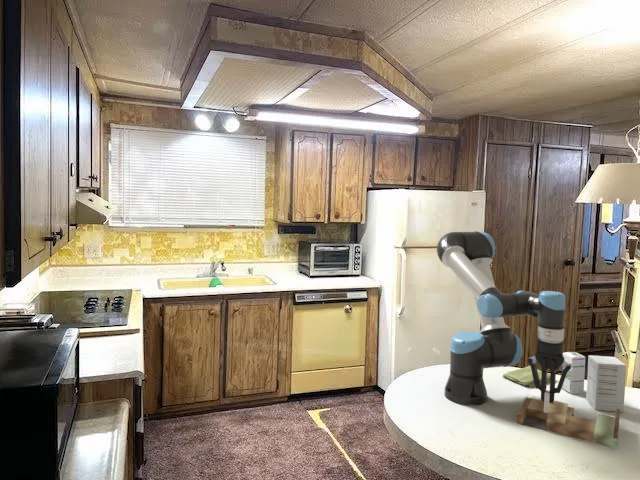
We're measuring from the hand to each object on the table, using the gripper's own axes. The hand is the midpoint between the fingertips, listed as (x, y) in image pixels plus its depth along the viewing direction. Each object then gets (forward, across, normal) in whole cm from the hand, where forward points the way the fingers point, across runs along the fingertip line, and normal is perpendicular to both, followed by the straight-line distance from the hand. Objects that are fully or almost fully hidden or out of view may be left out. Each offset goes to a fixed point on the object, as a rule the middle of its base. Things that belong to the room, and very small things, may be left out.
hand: (546, 411), depth 152 cm
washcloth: (+5, -13, +39) cm, 42 cm away
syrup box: (+5, +3, +36) cm, 37 cm away
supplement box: (+5, +14, +28) cm, 32 cm away
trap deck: (+5, +6, +4) cm, 8 cm away
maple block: (+2, +3, 0) cm, 4 cm away
